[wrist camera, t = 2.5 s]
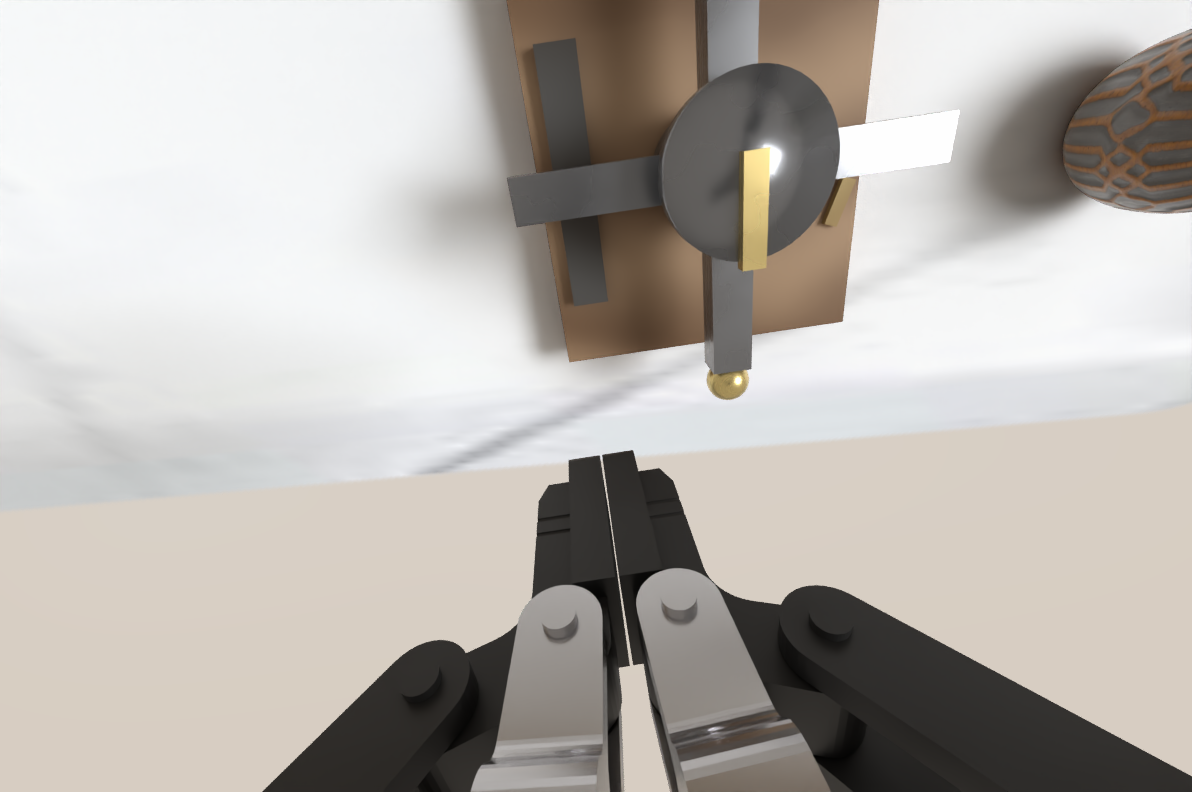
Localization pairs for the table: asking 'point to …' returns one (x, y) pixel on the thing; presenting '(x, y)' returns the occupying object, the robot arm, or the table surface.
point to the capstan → (737, 173)
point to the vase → (1137, 133)
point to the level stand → (633, 129)
